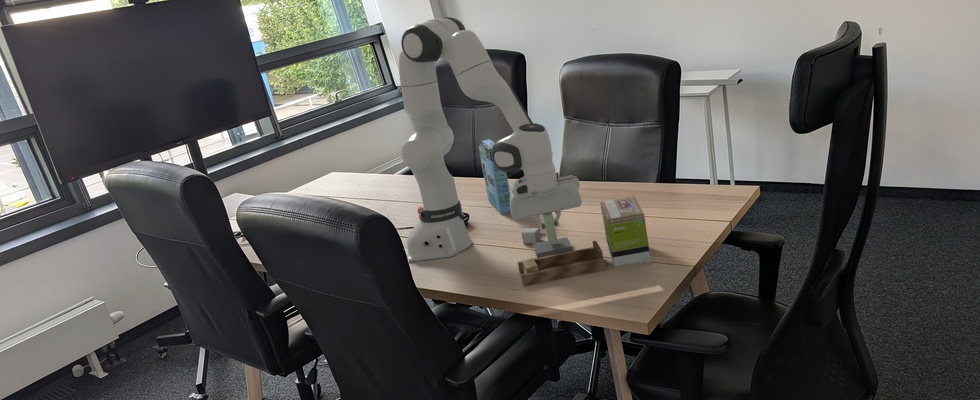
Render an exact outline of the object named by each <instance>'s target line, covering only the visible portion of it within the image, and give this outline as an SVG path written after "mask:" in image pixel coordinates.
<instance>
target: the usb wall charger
mask: <svg viewBox="0 0 980 400" xmlns="http://www.w3.org/2000/svg"><path fill="white" fill-rule="evenodd" d="M521 237H522V239H521V240H522V243H523V244H524V245H525V244H526V245H534V244H535V243H540V242H541V241H542V239H545V237H546V233H545V232H544V233H541V229H540V227H538V228H537V227H532V228H529V227H526V228H524V230H522V231H521Z"/></svg>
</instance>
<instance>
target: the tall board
mask: <svg viewBox="0 0 980 400" xmlns="http://www.w3.org/2000/svg"><path fill="white" fill-rule="evenodd" d="M541 216H542V220H543V221H544V222H545V227H546V228H545V229H544V233H545V235H546V236H545V237H546V240H547V241H548V242H549V243H554V242H558V241H557V239H558V238H557V237H558V236H557V232H556V226H555V224H554V219H555V218H554V215H553V212H551V213H547V214H542V215H541ZM543 221H542V222H543Z"/></svg>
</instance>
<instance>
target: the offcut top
mask: <svg viewBox="0 0 980 400" xmlns="http://www.w3.org/2000/svg"><path fill="white" fill-rule="evenodd" d="M534 259H535V258H534V257H531V258H527V259H523V260H521V261H523V267H524V269H525V271H526V273H530V272H535V271H538V266H537V264H536V262H535V261H534Z"/></svg>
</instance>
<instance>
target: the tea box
mask: <svg viewBox="0 0 980 400" xmlns="http://www.w3.org/2000/svg"><path fill="white" fill-rule="evenodd" d="M600 208H601V217H602V222H603V227H604V228H603V229H604V233H605V234H604V235H605V239H606V244H607V245H606V246H607V250H608V252H609V256H610V258H611V261H612V264H613V266H614V267H619V266H625V265H631V264H637V263H643V265H649V264H651V263H652V259H651V253H650V245H649V240H648V239H649V238H648V233H647V232H648V231H647V225H646V218H645V214H644V211H643V210H642V208H641V206H640V204H639V203H638V200H637V198H636V197H635V195H634V196H633V195H632V196H627V197H621V198H617V199H611V200H606V201H605V200H604V201H600Z"/></svg>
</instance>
